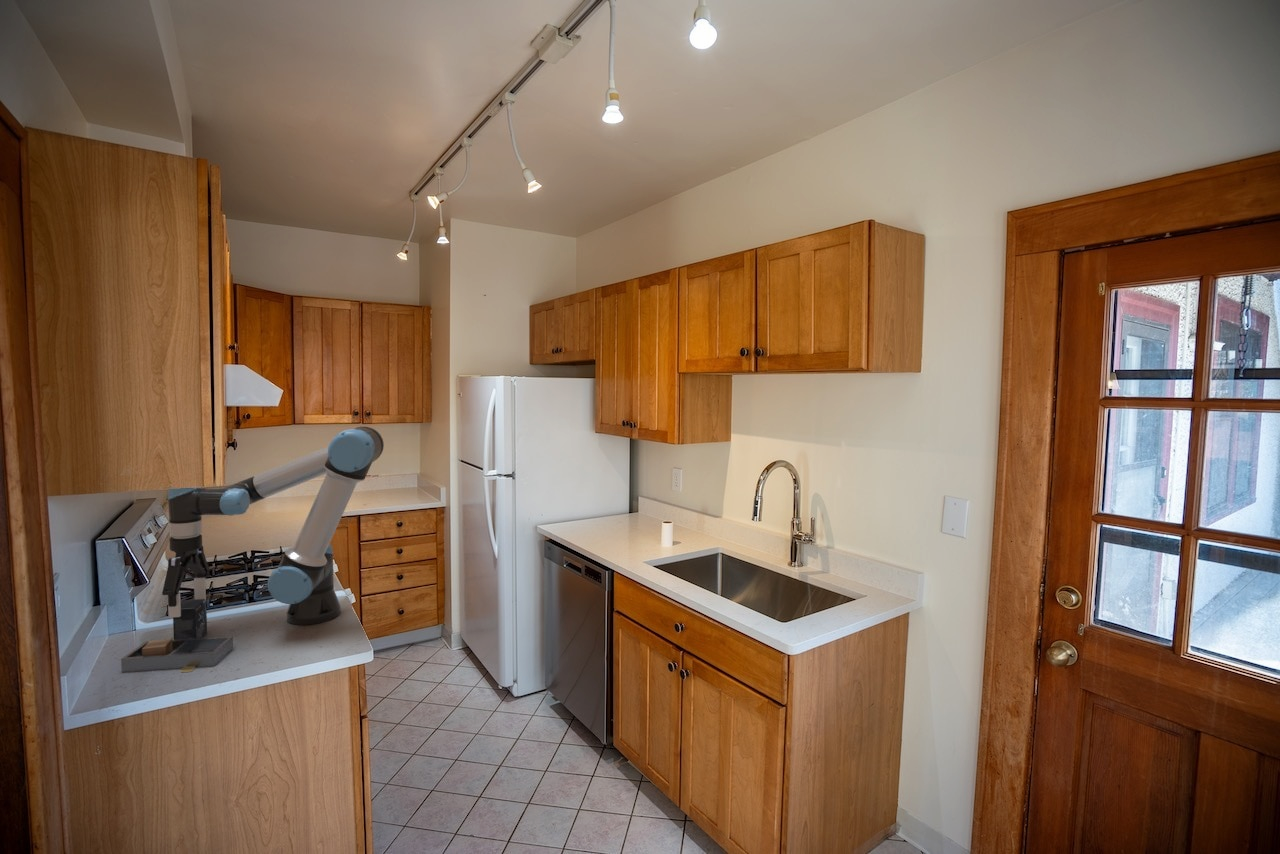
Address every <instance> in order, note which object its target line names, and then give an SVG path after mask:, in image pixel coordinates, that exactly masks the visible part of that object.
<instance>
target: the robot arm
mask: <svg viewBox="0 0 1280 854" xmlns="http://www.w3.org/2000/svg"><path fill="white" fill-rule="evenodd" d="M384 446H385V443H384V439H383V437H382V435H381V434H380V432H379V431H377V430H376V429H375V428H373V427H369V426H357V427H355V428H349V429H346V430H343V431H341V432H339V433H338V434H337V435H335V436H334V437H333V439H332V440H330V442H329V445H328V446H325V447H323V448H321V449H319V450H316V451H312V452H311V453H308V454H306V455H303V456H301V457H297V458H295V459H294V460H291V461H288V462H286V463H283V464H281V465H278V466H276V467H274V468H271V469H268V470H266V471H263V472H261V473H258V474H256V475H254V476H250V477H248V478H247V479H243V480H240V481H238V482H236V483H234V484H231V485H228V486H225V487H222V488H202V487H201V488H181V489H169V488H168V492H167V494H168V496H167V502H168V522H169V523H168V525H167V527H168V528H169V536H170V538H169V550H170V551H171V552H174V553H175V556H174V557H172V558H171V557H170V558H168V560H167V562H168V563H167V569H166V575H165V578H164V584H163V589H162V592H161V593H162V596H167V606H168V607H167V608H168V610H167V611H168V618H173V617H180V616H181V603H182V602H181V593H179V591H180V589H181V586H182V582H183V580H184V577H185V574H186V573H187V572H188V571H189V569H190V570H191V572H192V573H193V575H194V576H195V577H194V578H193V591H194V592H193V593H194V600H197V599H206V600H207V594H206V592H207V591H206V589H207V587H206V578H208V577H209V576H210V571H211V570H210V567H209V564H208V562H207V558H206V555H205V553H204V552H205V551H204V550H205V549H204V545H203V535H202V532H203V521H202V516H238V515H239V516H241V515H243V514H245V513H247V512H248V511H247V510H248V509H249V507H250V505H252V504H255V503H257V502H259V501H261V500H264V499H266V498H269V497H271V496H273V495H276V494H278V493H280V492H284V491H286V490H288V489H291V488H293V487H296V486H298V485H301V484H303V483H304V484H305V483H306V482H308V481H311V480H313V479H316V478H318V477H320V476H323V475H325V474H326V475H325V477H324V479H323V481H322V484H321V486H320V488H319V490H318V492H317V495H316V497H315V499H314V502H313V503H312V506H311V508H310V509H309V512H308V513H307V516H306V518H305V520H304V523H303V524H302V525H303V526H302V528H301V530H300V531H299V535H298V536H297V538H296V541H295V543H294V545H293V546H291V547H288V548H287V549H286V550H285V551H284V554H283V556H282V557H281V560H280V563H279V564H278V567H277V568H275V569H274V570H273V571H272V572H271V573H270V575H269V577H268V580H267V590H268V592H269V594H270V596H271V597H272V598H273V599H274V600H275V601H277V602H279V603H282V604H285V605H289V606H288V608H287V611H286V621H287V623H289V624H292V625H298V626H305V625H306V626H308V625H309V626H310V625H315V624H321V623H324V622H327V621H331V620H333V619H334V618H337V617H339V615H340V614H341V603H340V601H339V598H338V596H337V594H336V592H335V587H334V586H335V585H334V552H333V547H332V545H331V544H330V543H331V541H332V539H333V537H334V534H335V532H336V530H337V528H338V525H339V523H340V521H341V519H342V516H343V515H344V513H345V510H346V507H347V506H348V504H349V501H350V499H351V497H352V495H353V492H354V490H355V488H356V486H357V484H358V483H360V482H362V481H365V479H366V476H367V475H368V472H369V471H370V468H371V466H372V464H373V463H374V462H375V461H377V460H378V459H379V458H380V457H381V455H382V454H383V451H384V448H385V447H384Z"/></svg>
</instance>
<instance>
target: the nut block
mask: <svg viewBox="0 0 1280 854" xmlns="http://www.w3.org/2000/svg"><path fill="white" fill-rule="evenodd" d="M172 640H173V638H166V639H156V640H149V642H148V643H147V644H146V645H145V646H144V647H143V648H142V656H157V655H169V654H170V653H171V652H172V651H173V648H172Z"/></svg>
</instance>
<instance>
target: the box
mask: <svg viewBox="0 0 1280 854" xmlns="http://www.w3.org/2000/svg"><path fill="white" fill-rule="evenodd" d="M207 614H208V613H207V598H206V599H197V600H195V599H185V600H184V601H182V602H181V616H180V617H172V624H173V640H181V639H198V638H204V637H205V635H206V634H207V633H208V615H207Z"/></svg>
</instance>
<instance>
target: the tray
mask: <svg viewBox="0 0 1280 854" xmlns="http://www.w3.org/2000/svg"><path fill="white" fill-rule="evenodd" d="M149 641H150V640H149ZM149 641H145V642H143V643H141V644H140V645H139V646H137V647H136V648H135V649H133V650H132V651H130V652H129V653H128V654H126V655H124V656H123V657H122V658H121V659H120V663H121V664H120V666H121V672H122V673H129V672H143V671H144V672H145V671H146V672H147V671H158V670H159V671H160V670H173V669H174V670H175V669H180V673H192V672H193V671H194V670H195V669H196V668H205V667H216V665H218V664H219V663H220V662H221V661H222V660H223V659H224V658H225V657H226V656H227V655H229V654H230V653H231V652H232V650H234V636H219V637H217V636H216V637H215V636H214V637H202V638H198V639H181V640H174V639H172V648H173V651H172V652H171V653H170V654H169V655H157V656H142V648H143V647H144V646H145V645H146V644H147V643H148V642H149Z"/></svg>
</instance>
